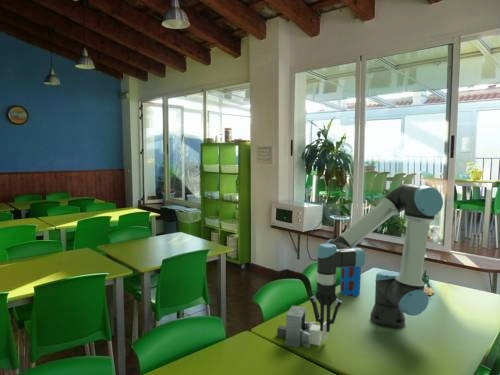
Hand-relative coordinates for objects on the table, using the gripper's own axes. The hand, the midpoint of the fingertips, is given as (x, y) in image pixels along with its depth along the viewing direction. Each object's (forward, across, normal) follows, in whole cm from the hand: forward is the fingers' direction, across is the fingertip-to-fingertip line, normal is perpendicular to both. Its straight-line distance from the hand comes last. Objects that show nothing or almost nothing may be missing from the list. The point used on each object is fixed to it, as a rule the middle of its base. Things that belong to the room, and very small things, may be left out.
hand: (324, 338), depth 152 cm
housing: (+2, +10, 0) cm, 10 cm away
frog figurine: (+2, -44, -77) cm, 89 cm away
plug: (+2, +11, 0) cm, 11 cm away
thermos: (+2, -4, -61) cm, 61 cm away
